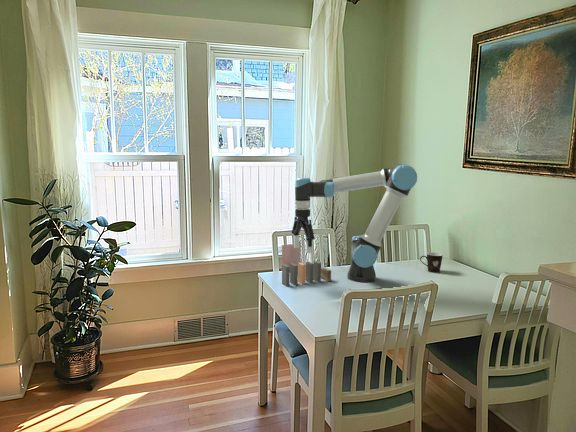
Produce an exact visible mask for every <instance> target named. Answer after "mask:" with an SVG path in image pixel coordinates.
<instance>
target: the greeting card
mask: <svg viewBox="0 0 576 432" xmlns="http://www.w3.org/2000/svg"><path fill="white" fill-rule="evenodd" d="M301 246H302V243H299V248H294V243H293V244H292V243H291V244H283V245H281V265H282V264H286V265H288V266H290V264H292V263H294V264H296V265H298V263H301V258H302V257H301V252H302V251H301V250H302V249H301Z"/></svg>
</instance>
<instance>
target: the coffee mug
mask: <svg viewBox="0 0 576 432" xmlns="http://www.w3.org/2000/svg"><path fill="white" fill-rule="evenodd" d="M443 256H444V254H443V253H439V252H427V253H426V255H422V256H420V257H419V261H420V263H422V264H423V265H424V266H426V267H427V271H428V273H429V272H430V273H434V274H435V273H437V274H438V273H440V272H441V266H442V261H443ZM422 258H426V262H427V263H425V262H424V261H423V260H422Z"/></svg>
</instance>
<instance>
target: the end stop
mask: <svg viewBox="0 0 576 432" xmlns="http://www.w3.org/2000/svg"><path fill="white" fill-rule="evenodd" d="M321 280H323V281H326V282H327V283H329V282H332V269H330V268H328V267H326V266H321Z"/></svg>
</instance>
